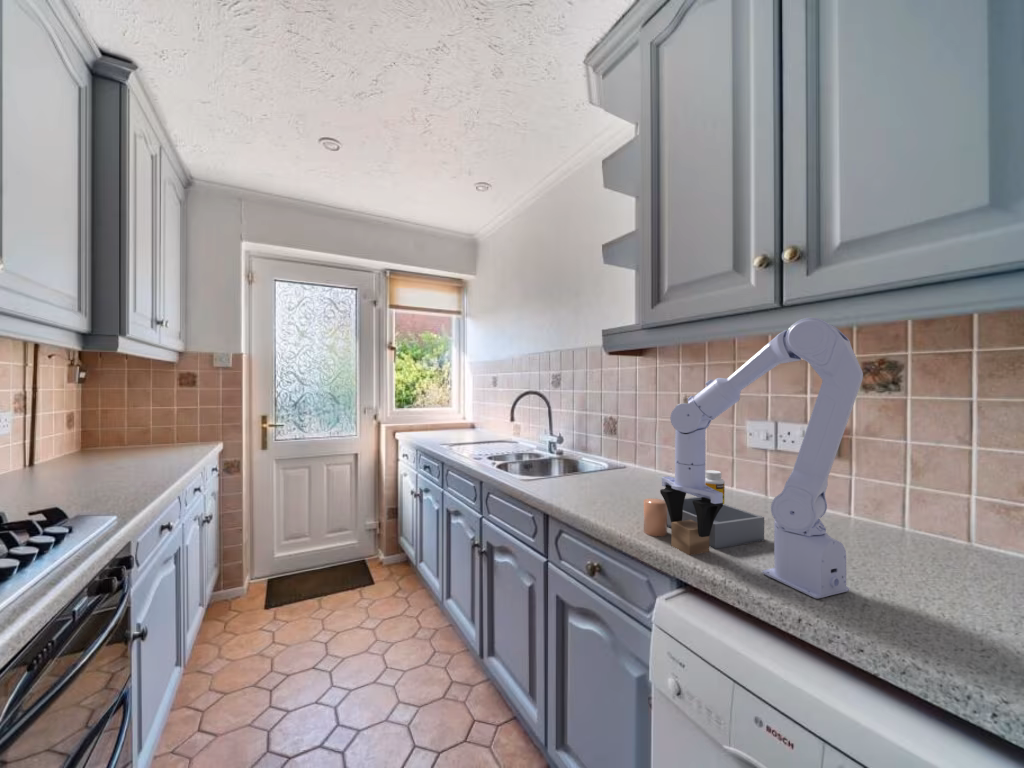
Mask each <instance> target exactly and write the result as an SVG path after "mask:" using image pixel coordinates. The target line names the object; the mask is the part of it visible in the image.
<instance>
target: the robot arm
mask: <svg viewBox="0 0 1024 768" xmlns="http://www.w3.org/2000/svg"><path fill="white" fill-rule="evenodd" d="M802 360H804V361H805V362H807V363H808V364H809V365H810V366H811V368H812V369H813V370H814V372H815V373H816V374H817V375H818V376H819V378H820V379H821V381H822V382H821V385H820V387H819V390H818V393H817V397H816V400H815V403H814V405H813V409H812V412H811V414H810V415H811V416H810V419H809V421H808V424H807V427H806V430H805V433H804V435H803V439H802V442H801V443H800V444H801V445H800V448H799V451H798V454H797V457H796V460H795V463H794V466H793V469H792V471H791V473H790V474H789V477H787V480H786V482H785V483H784V487H783V489H782V491H781V492H780V493H779V494H778V495H777V496H775V497H774V498H773V500H772V502H771V505H770V512H771V515H772V517H773V519H774V521H773V522H774V525H773V526H774V529H773V530H774V531H773V532H774V534H773V535H774V540H773V541H774V546H773V547H774V548H773V549H774V550H773V551H774V553H773V555H774V558H773V561H774V565H773V566H774V567H772V568H771V567H770V568H767V569H763V570H761V573H762V574H763V575H765V576H767V577H769V578H771V579H774V580H775V581H778V582H780V583H782V584H784V585H786V586H788V587H790V588H792V589H795V590H796V591H799V592H801V593H803V594H806V595H807V596H810V597H811V598H813V599H823V598H826V597H829V596H830V597H831V596H834V595H837V594H842V593H846V592H850V587H849V586H847V552H846V547H845V546H844V544H843V543H842V542H841V541H839V540H838V539H835V538H833V537H831V536H830V535H829V534H828V533H827V528H826V526H825V525H824V523H823V522H822V520H821V518H822V517H824V515H825V514H826V513H827V510H828V502H827V498H826V491H827V489H828V480H829V475H830V474H831V470H832V467H833V464H834V461H835V458H836V455H837V454H838V451H839V447H840V445H841V441H842V439H843V436H844V433H845V431H846V428H847V424H848V422H849V420H850V419H849V418H850V416H851V413H852V412H853V407H854V405H855V401H856V400H857V399H856V398H857V396H858V394H859V390H860V388H861V385H862V382H863V379H864V373H863V369H862V367H861V366H860V363H859V360H858V358H857V357H856V354H855V351H854V350H853V347H852V344H851V341H850V339H849V338H848V337H847V336H846V335H845V334H844V333H843V332H842V331H841V330H840V329H839V328H837V327H836V326H835V325H832V324H830V323H828V322H827V321H825V320H824V319H822V318H819V317H805V318H801V319H799V320H797V321H796V322H794V323H793V324H792V325H790V327H789V328H788V330H787V329H784V330H782V331H781V332H780V333H778V334H777V335H775V337H774V338H772V339H771V340H770V341H769V342H767V343H766V344H765V345H764V346H763V347H762V348H760V350H758V351H756V353H755V354H754V355H752V357H750V358H749V359H748V360H746V362H745V363H744V364H742V365H741V366H740V367H739V368H738V369H736V370H735V371H734V372H732V374H730V375H729V377H727V378H724V377H717V378H715V379H709V380H708V381H706V382H705V385H706V386H705V387H704V388H703V389H702V390H700V391H699V392H698V393H697V394H695V395H690V396H689V397H688V398H687V403H678V404H677V405H675V407H674V408H673V409H672V411H671V414H670V423H671V425H672V427H673V428H674V429H675V430H674V431H675V434H674V435H675V436H674V438H675V439H674V477H672V476H661V486H662V487H664V488H661V489H660V491H659V492H660V495H661V497H662V498H663V500H665V503H666V505H667V508H668V512H669V516H670V520H671V522H677V521H682V514H683V504H684V499H685V498H686V496H687V494H688V495H691V496H693V497H700V498H701V500H694V501H693V505H694V507H695V511H696V515H697V525H698V534H699V536H700V537H707V536H709V535H710V532H711V528H712V525H713V522H714V520H715V518H716V516H717V514H718V512H719V511H720V509H721V508H722V507H723V493H721V492H718V491H716V490H714V489H712V488H710V487H709V486H707V485H705V474H706V465H707V464H706V461H707V460H706V457H707V456H706V455H707V453H706V445H707V444H706V443H707V440H706V434H707V433H706V431H707V428H709V426H710V424H711V423H712V421H713V420H715V419H716V418H717V417H719V416H720V415H722V414H723V413H725V412H726V411H727V410H729V409H730V408H731V407H733V406H734V405H736V404H737V403H738V402H739V401H740V397H741V392H742V391H743V390H744V389H745V388H747V387H748V386H749V385H750V384H752V383H754V382H755V381H756V380H758V379H760V378H762V377H763V376H765V374H767V373H768V372H770V371H771V370H773V369H774V368H775V367H777V366H779V365H781V364H786V363H792V362H793V363H795V362H800V361H802Z"/></svg>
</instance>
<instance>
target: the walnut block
mask: <svg viewBox="0 0 1024 768" xmlns="http://www.w3.org/2000/svg"><path fill="white" fill-rule="evenodd" d="M670 529H671V540H670V541H671V543H670V544H671V547H672V546H673V548H674V547H675V548H674V549H676V548H677V550H678V549H679V550H678V551H680V552H682V553H684V554H686V555H687V556H695V555H700V553H701V554H706V552H707V553H710V546H709V536H707V537H700V536H699V534H698V525H697V522H695V521H693V520H684V521H677V522H671V528H670Z"/></svg>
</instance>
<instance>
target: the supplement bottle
mask: <svg viewBox="0 0 1024 768" xmlns="http://www.w3.org/2000/svg"><path fill="white" fill-rule="evenodd" d="M722 477H723V476H722V472H721V471H719V470H714V469H711V470H710V469H707V470H706V474H705V485H707V486H709V487H710V488H712V489H714V490H716V491H718V492H721V493H723V504H725V492H726V491H725V489H726V487H725V485H726V484H725V480H724V479H723V478H722Z"/></svg>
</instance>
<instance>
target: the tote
mask: <svg viewBox="0 0 1024 768" xmlns="http://www.w3.org/2000/svg"><path fill="white" fill-rule="evenodd" d="M663 500H664V499H663ZM694 500H701V498H700V497H697V496H692V497H685V499H684V504H683V514H682V521H684V520H693V521H695V522H697V515H696V511H695V507H694V505H693V501H694ZM664 501H665V500H664ZM667 528H669V529H671V520H670V516H669V512H668V508H667ZM759 542H765V517H764V516H761V515H758V514H755V513H752V512H749V511H746V510H744V509H741V508H736V507H734V506H731V505H729V504H726V503H724V504H723V507H722V508H721V509H720V511H719V512H718V514H717V516H716V518H715V520H714V522H713V525H712V528H711V532H710V535H709V548H712V549H714V550H716V549H717V550H718V549H723V548H729V547H735V546H739V545H746V544H753V543H759Z"/></svg>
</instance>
